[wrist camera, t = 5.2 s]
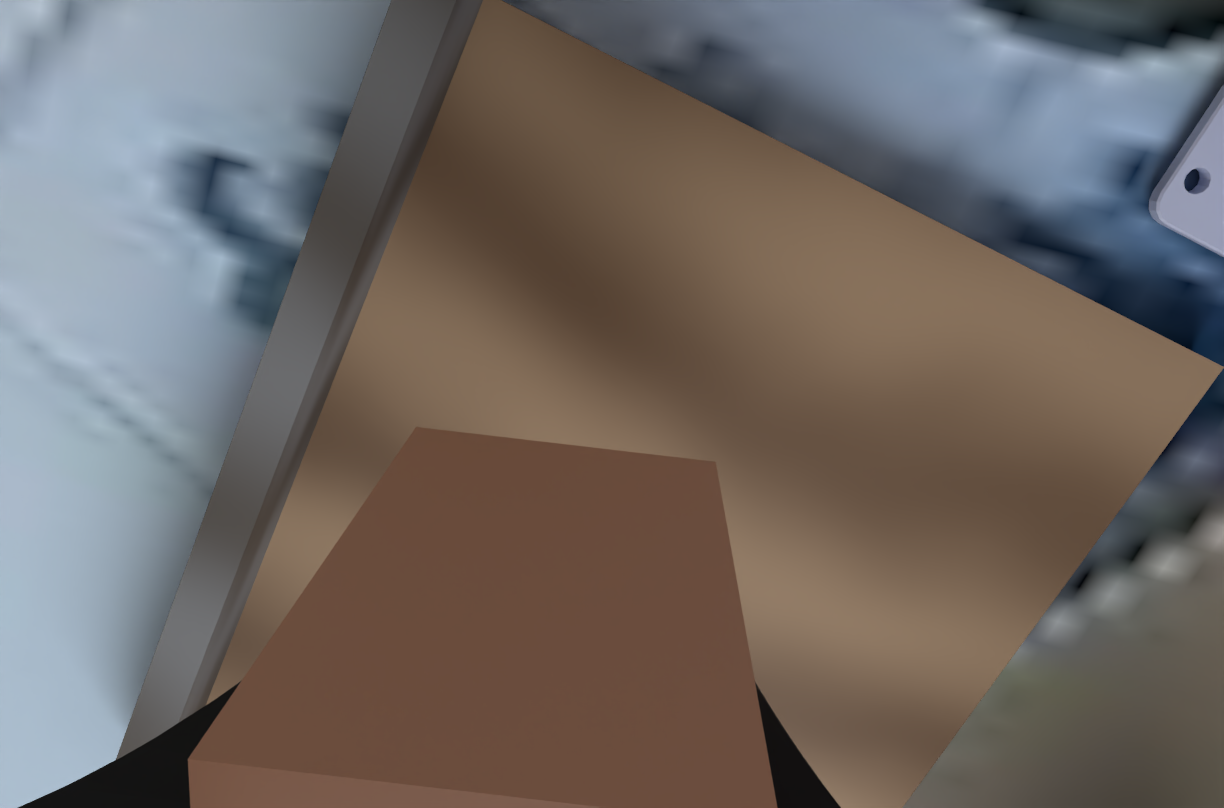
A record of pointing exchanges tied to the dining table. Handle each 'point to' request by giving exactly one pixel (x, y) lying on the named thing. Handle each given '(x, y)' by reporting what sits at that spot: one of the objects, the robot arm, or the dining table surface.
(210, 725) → the robot arm
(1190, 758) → the dining table surface
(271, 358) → the brown wooden pallet
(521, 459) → the tea tin
